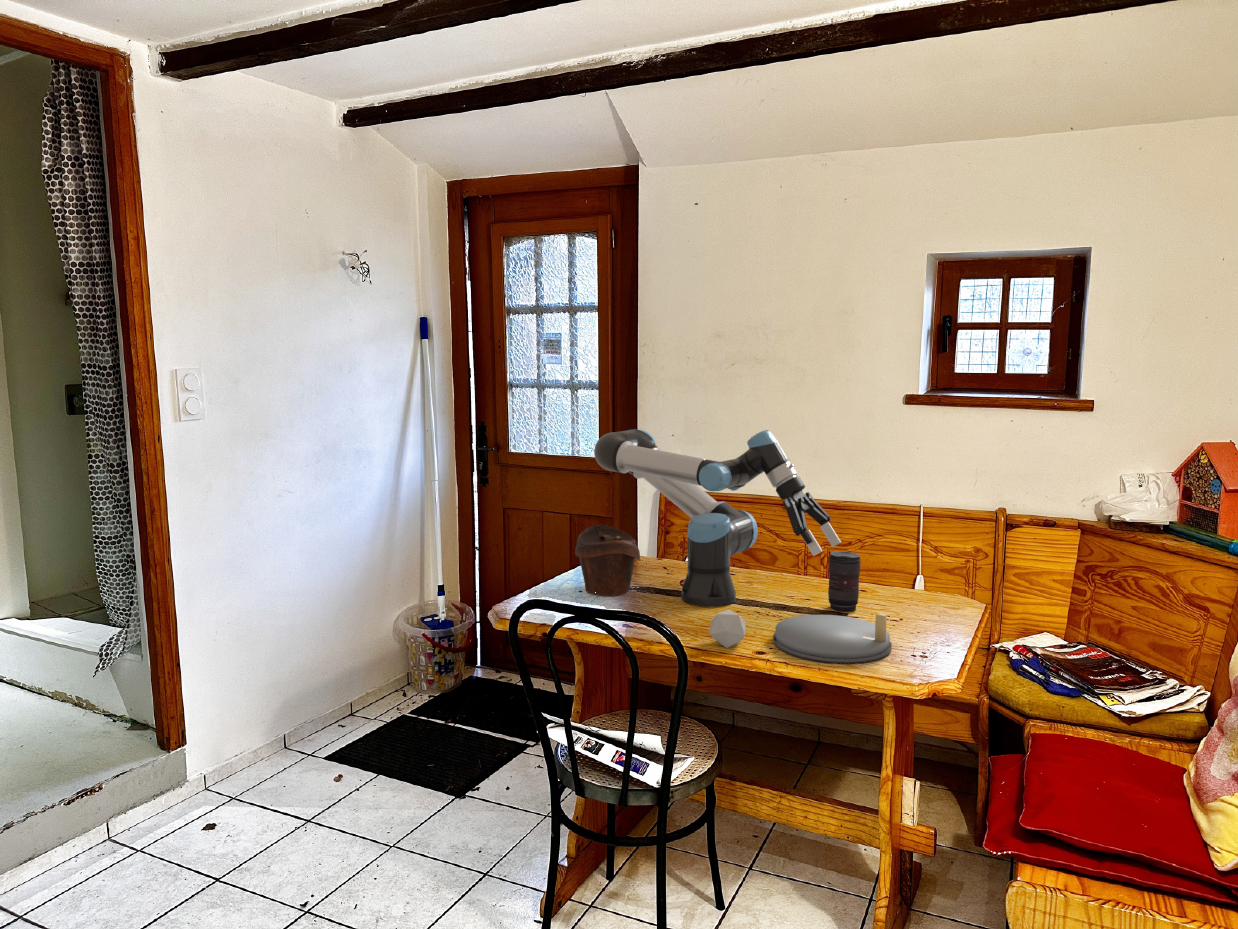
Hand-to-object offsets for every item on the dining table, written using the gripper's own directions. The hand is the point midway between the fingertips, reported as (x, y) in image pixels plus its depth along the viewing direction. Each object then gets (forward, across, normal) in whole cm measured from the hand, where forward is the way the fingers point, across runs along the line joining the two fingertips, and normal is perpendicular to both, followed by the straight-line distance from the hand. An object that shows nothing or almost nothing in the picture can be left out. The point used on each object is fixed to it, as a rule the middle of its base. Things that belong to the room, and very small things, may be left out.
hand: (827, 549), depth 230 cm
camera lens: (+16, 0, +5) cm, 17 cm away
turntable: (+19, -29, -2) cm, 35 cm away
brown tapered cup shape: (-20, -22, +56) cm, 63 cm away
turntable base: (+20, -29, -1) cm, 36 cm away
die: (+9, -43, +16) cm, 47 cm away
